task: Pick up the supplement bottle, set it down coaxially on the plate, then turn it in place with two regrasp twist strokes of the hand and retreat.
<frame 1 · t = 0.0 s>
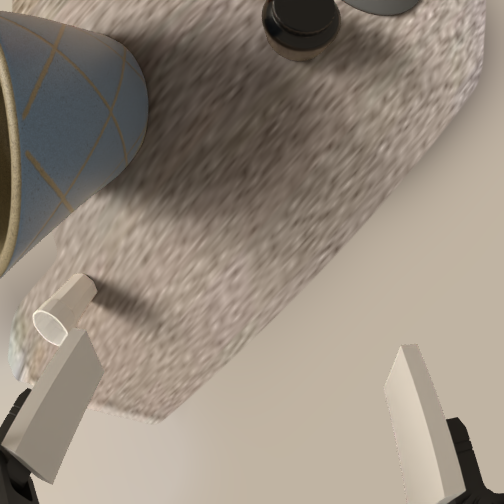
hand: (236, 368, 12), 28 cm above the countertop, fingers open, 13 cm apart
supplement bottle: (296, 33, 29), on the countertop
planter: (82, 111, 34), on the countertop
cup: (84, 285, 47), on the countertop
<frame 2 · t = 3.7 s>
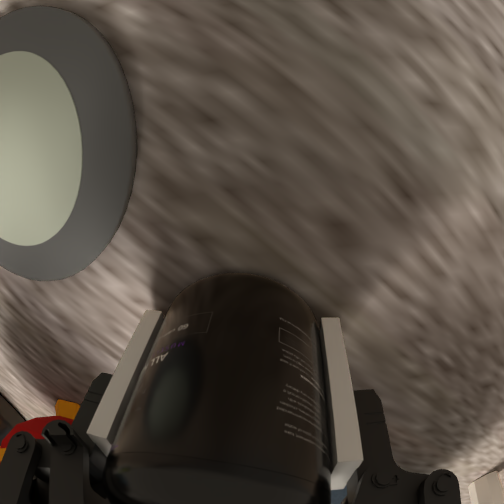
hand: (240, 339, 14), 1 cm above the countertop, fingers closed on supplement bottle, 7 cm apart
potion bottle: (81, 417, 21), on the countertop
supplement bottle: (242, 328, 14), on the countertop, touching gripper
cup: (482, 478, 27), on the countertop
plate: (14, 149, 11), on the countertop
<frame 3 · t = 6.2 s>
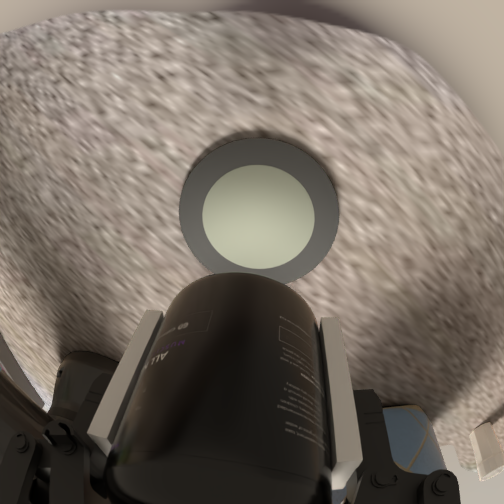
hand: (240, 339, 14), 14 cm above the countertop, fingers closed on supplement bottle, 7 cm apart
supplement bottle: (241, 327, 14), point 13 cm above the countertop, touching gripper
planter: (366, 435, 42), on the countertop
cup: (480, 428, 43), on the countertop
plate: (258, 216, 26), on the countertop
when the fingers open (3 cm above the countertop, at t = 8.5 s): supplement bottle drops 1 cm, resting on plate.
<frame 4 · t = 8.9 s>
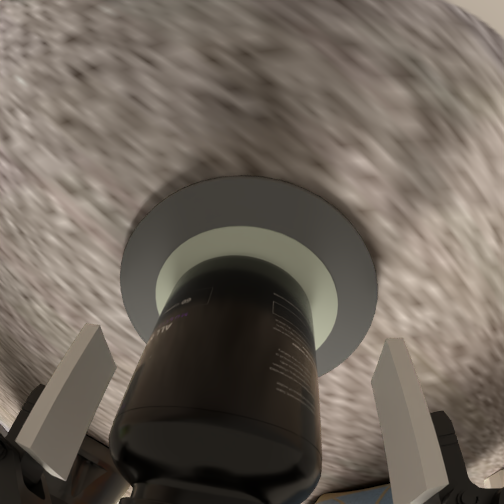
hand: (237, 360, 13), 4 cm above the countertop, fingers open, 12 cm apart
supplement bottle: (240, 309, 16), point 1 cm above the countertop, touching plate
planter: (374, 498, 32), on the countertop
cup: (495, 474, 33), on the countertop
plate: (246, 303, 16), on the countertop
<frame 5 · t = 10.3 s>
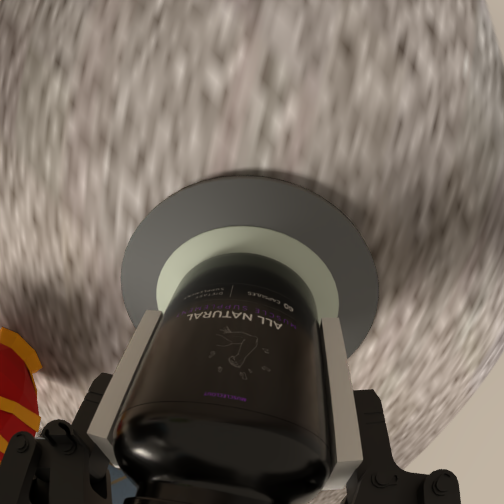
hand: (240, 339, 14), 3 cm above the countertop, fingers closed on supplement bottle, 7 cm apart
potion bottle: (18, 348, 21), on the countertop
supplement bottle: (243, 306, 15), point 1 cm above the countertop, touching gripper, plate
planter: (97, 468, 33), on the countertop
plate: (246, 303, 16), on the countertop
when the fingers open (3 cm above the countertop, at t = 11.3 s): supplement bottle stays where it is, resting on plate.
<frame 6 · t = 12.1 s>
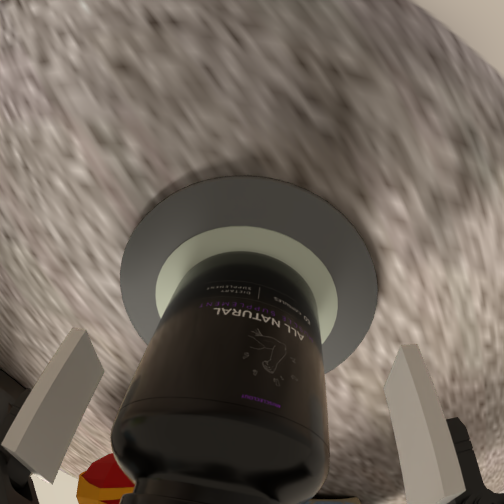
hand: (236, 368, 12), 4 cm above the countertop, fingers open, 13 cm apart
potion bottle: (149, 445, 26), on the countertop
supplement bottle: (244, 305, 15), resting on plate
plate: (245, 303, 16), on the countertop
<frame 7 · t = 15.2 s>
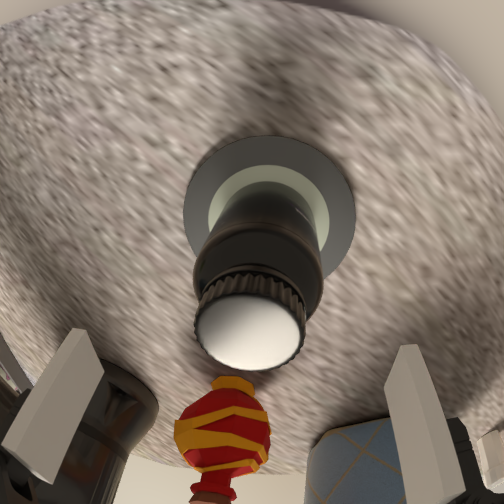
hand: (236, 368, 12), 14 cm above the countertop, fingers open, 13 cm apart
potion bottle: (232, 387, 35), on the countertop
supplement bottle: (267, 221, 24), resting on plate
planter: (373, 443, 40), on the countertop
cup: (487, 436, 40), on the countertop
plate: (268, 221, 24), on the countertop
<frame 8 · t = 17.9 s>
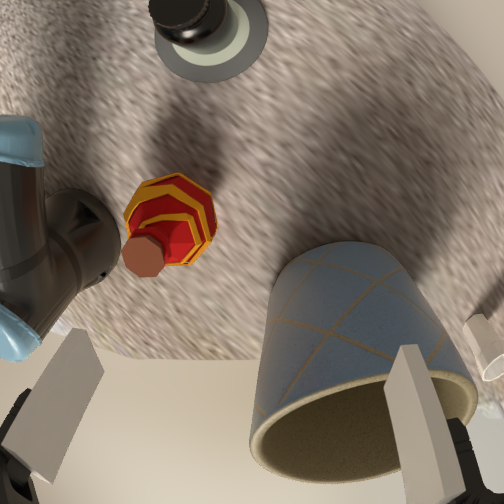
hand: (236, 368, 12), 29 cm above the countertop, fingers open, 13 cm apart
potion bottle: (186, 199, 40), on the countertop
supplement bottle: (208, 28, 29), resting on plate
planter: (340, 300, 45), on the countertop
cup: (473, 323, 46), on the countertop
plate: (210, 30, 29), on the countertop
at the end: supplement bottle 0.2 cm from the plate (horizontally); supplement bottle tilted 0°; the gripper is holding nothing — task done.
